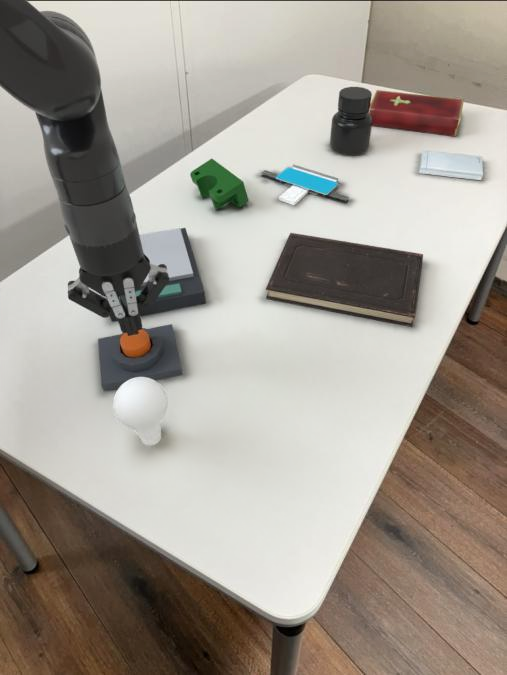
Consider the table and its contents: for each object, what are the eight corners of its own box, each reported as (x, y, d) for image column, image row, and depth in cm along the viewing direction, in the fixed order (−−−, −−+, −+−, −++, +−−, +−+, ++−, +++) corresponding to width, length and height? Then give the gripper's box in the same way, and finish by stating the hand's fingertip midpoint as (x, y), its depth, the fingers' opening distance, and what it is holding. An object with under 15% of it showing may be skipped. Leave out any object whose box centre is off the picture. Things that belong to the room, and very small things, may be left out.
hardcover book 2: (455, 137, 118) (461, 119, 115) (365, 126, 123) (368, 108, 120) (459, 115, 126) (464, 98, 123) (374, 105, 131) (376, 88, 128)
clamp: (206, 212, 107) (184, 173, 102) (229, 197, 108) (208, 158, 103) (229, 220, 97) (206, 177, 92) (253, 203, 98) (232, 159, 93)
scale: (111, 321, 79) (106, 306, 77) (104, 253, 91) (99, 237, 89) (206, 303, 82) (204, 287, 79) (187, 238, 94) (184, 223, 91)
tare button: (123, 360, 70) (121, 352, 69) (121, 340, 73) (118, 331, 72) (152, 354, 71) (150, 346, 70) (149, 334, 74) (147, 326, 72)
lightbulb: (121, 431, 66) (101, 378, 58) (166, 413, 67) (152, 358, 59) (136, 469, 62) (117, 418, 54) (183, 448, 64) (171, 396, 56)
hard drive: (482, 155, 109) (423, 148, 112) (483, 174, 104) (420, 166, 106) (480, 162, 110) (421, 155, 113) (480, 181, 105) (419, 174, 108)
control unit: (103, 391, 70) (98, 378, 68) (100, 345, 76) (95, 331, 74) (182, 374, 72) (180, 360, 70) (173, 330, 78) (170, 316, 76)
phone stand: (245, 188, 105) (244, 181, 104) (276, 164, 112) (276, 157, 110) (331, 218, 97) (331, 210, 96) (359, 190, 104) (360, 182, 102)
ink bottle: (370, 139, 119) (378, 85, 110) (370, 157, 113) (379, 102, 104) (328, 137, 120) (332, 83, 111) (326, 155, 114) (331, 100, 105)
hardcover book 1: (412, 327, 77) (415, 316, 75) (266, 298, 82) (265, 288, 80) (420, 262, 87) (423, 252, 86) (290, 241, 92) (290, 230, 91)
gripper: (156, 196, 60) (176, 303, 73) (41, 215, 58) (82, 321, 71) (165, 232, 56) (185, 340, 68) (40, 254, 53) (84, 361, 66)
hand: (132, 330), depth 70 cm, fingers closed
